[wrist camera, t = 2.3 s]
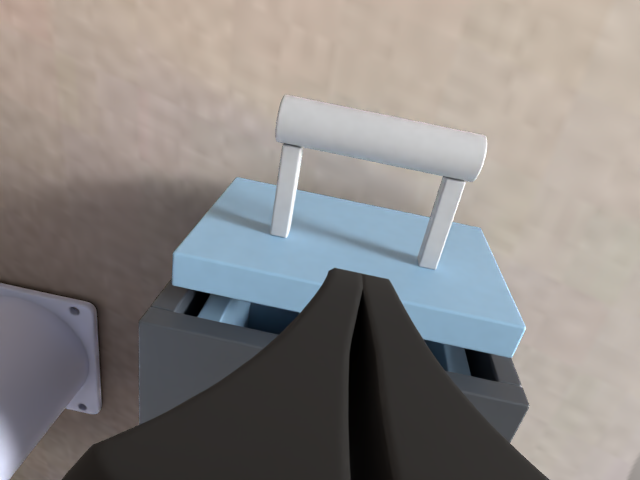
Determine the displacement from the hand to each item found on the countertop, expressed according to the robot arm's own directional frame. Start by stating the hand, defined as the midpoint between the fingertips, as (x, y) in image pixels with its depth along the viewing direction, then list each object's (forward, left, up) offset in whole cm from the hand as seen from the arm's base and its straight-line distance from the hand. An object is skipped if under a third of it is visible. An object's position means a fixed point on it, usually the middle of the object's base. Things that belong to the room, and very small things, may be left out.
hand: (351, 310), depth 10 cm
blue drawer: (0, -5, -9) cm, 11 cm away
